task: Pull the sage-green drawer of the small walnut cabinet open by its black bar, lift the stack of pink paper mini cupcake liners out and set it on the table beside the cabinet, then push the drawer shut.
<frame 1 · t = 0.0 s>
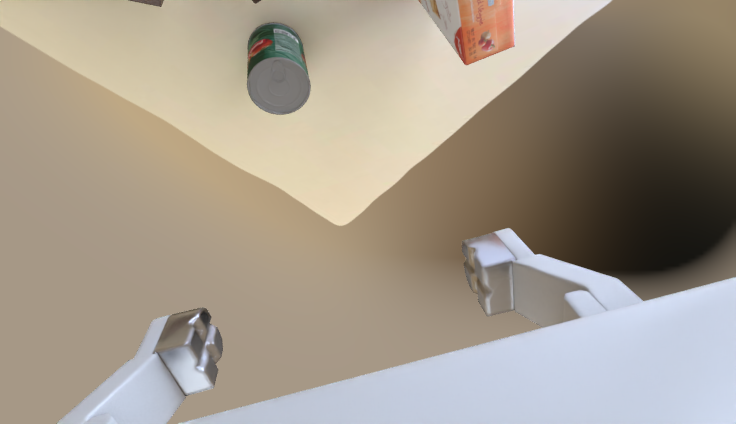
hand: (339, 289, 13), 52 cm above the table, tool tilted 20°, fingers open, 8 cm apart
canned tomato: (275, 49, 59), on the table
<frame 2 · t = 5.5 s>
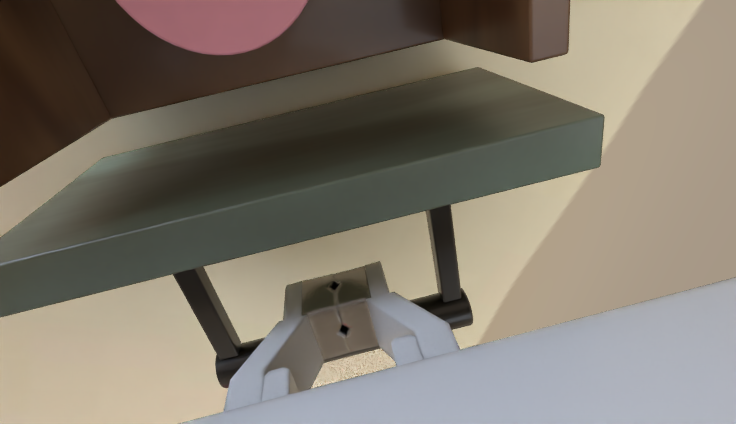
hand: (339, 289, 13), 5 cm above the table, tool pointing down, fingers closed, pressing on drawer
drawer: (249, 11, 9), point 4 cm above the table, slide at 6.0 cm, touching gripper, liners
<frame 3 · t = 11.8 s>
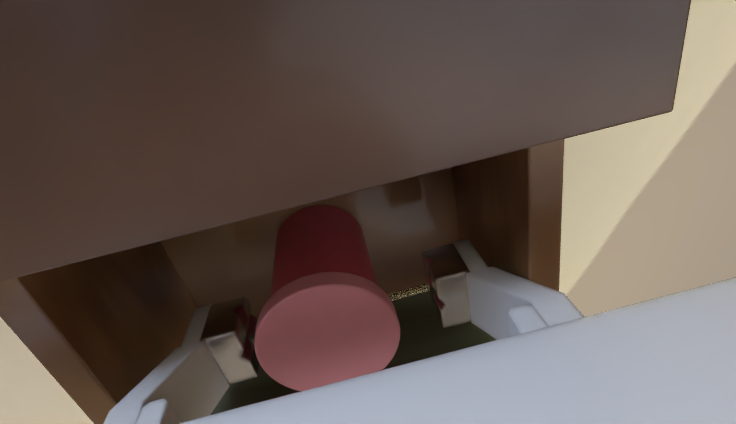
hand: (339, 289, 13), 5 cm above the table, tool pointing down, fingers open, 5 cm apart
liners: (320, 243, 15), point 2 cm above the table, touching drawer
drawer: (333, 309, 13), point 4 cm above the table, slide at 9.3 cm, touching gripper, liners
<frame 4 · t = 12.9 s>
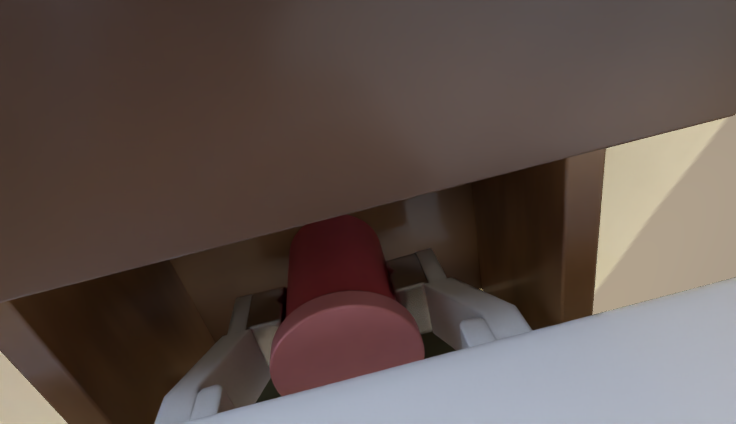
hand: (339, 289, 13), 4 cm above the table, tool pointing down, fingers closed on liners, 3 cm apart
liners: (335, 253, 14), point 2 cm above the table, touching drawer, gripper
drawer: (347, 328, 13), point 4 cm above the table, slide at 9.5 cm, touching liners
when the fingers open (2 cm above the table, at t = 19.7 s): liners stays where it is, on the table.
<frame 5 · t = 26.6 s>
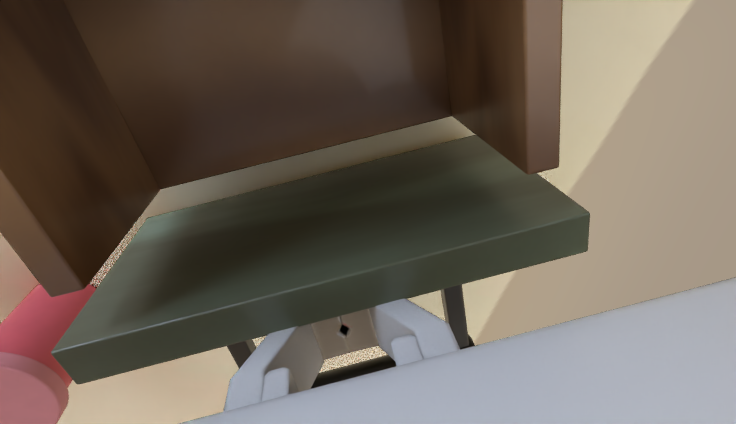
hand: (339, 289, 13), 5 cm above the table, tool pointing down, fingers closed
liners: (71, 306, 18), on the table
drawer: (288, 115, 11), point 4 cm above the table, slide at 8.7 cm, touching gripper
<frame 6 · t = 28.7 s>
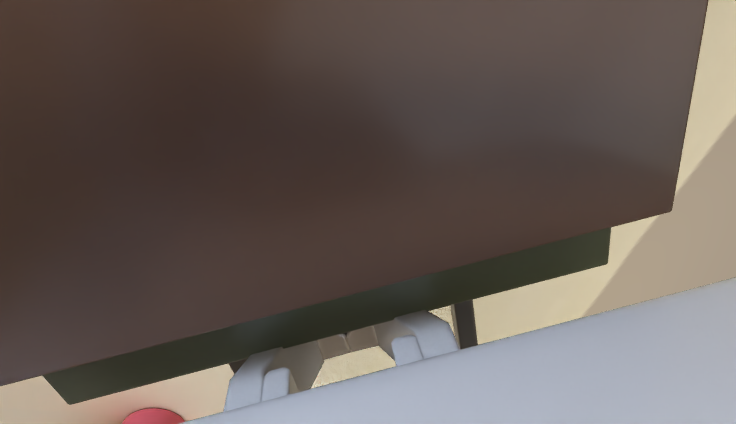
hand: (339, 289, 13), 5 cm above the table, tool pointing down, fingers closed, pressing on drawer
drawer: (291, 120, 11), point 4 cm above the table, slide at 0.6 cm, touching gripper
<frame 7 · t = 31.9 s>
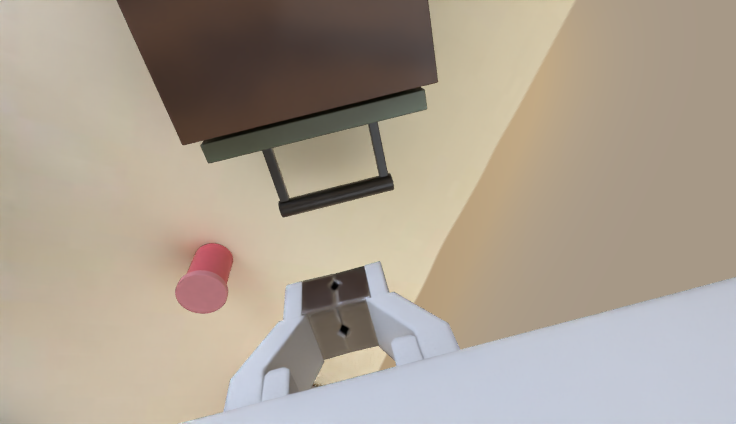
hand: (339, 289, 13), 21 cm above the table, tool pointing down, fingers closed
liners: (214, 258, 36), on the table
drawer: (297, 52, 25), point 4 cm above the table, slide at 0.4 cm
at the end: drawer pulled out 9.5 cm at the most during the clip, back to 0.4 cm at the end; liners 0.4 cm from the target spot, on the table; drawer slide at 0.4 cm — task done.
